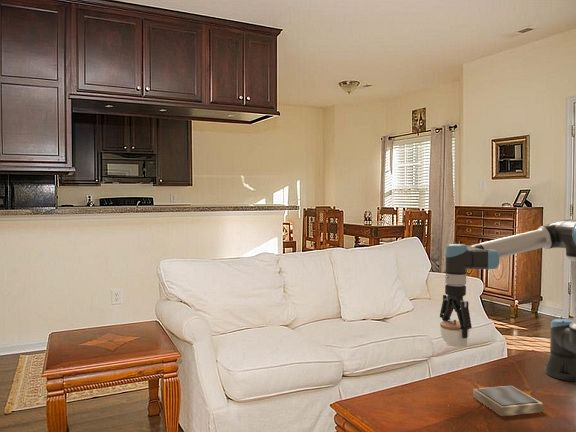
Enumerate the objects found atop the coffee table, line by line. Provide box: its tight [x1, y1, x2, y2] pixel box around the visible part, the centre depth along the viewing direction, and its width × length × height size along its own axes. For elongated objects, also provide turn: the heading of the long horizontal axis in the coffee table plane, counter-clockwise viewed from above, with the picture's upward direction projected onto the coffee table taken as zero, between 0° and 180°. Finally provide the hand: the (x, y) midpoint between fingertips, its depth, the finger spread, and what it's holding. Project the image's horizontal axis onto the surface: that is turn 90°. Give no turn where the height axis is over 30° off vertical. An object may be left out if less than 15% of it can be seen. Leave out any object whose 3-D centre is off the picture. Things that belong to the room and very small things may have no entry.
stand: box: [472, 385, 544, 417], centre depth 171 cm, size 16×16×3 cm
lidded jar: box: [439, 319, 470, 347], centre depth 185 cm, size 11×11×9 cm
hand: (454, 341), depth 185 cm, fingers closed on lidded jar, 11 cm apart
